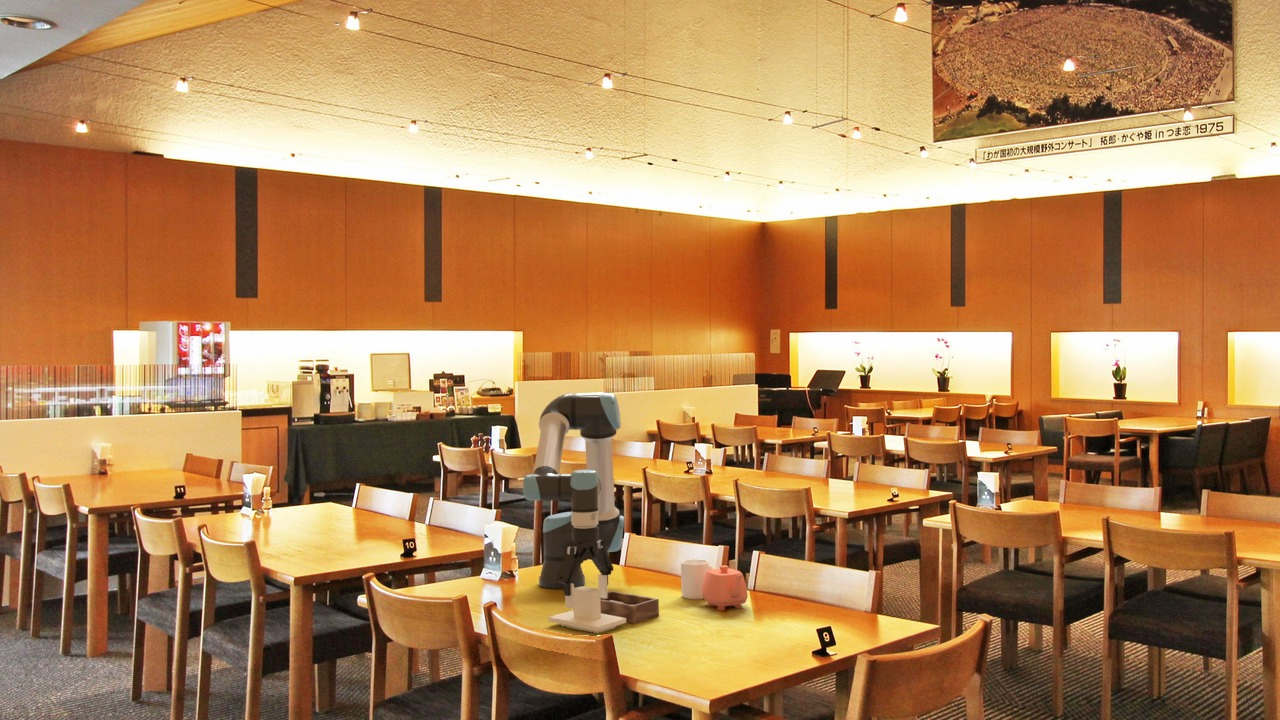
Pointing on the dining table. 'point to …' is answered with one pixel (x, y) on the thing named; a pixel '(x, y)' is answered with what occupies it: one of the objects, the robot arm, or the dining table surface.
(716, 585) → the teapot
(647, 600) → the bento box
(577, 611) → the lid
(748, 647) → the dining table surface
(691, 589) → the mug
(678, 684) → the dining table surface
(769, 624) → the dining table surface
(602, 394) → the robot arm
